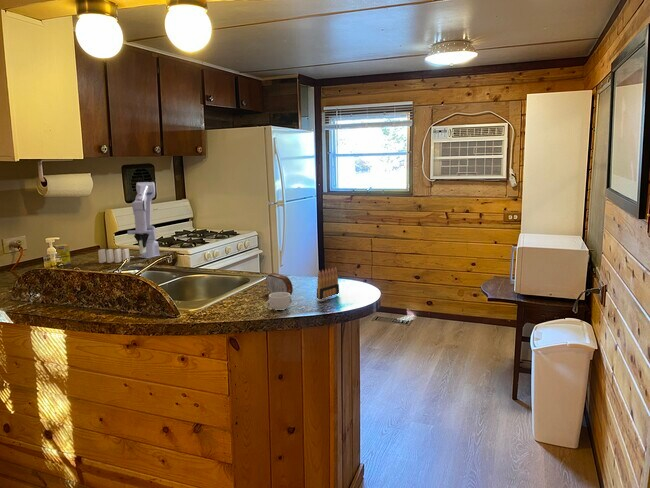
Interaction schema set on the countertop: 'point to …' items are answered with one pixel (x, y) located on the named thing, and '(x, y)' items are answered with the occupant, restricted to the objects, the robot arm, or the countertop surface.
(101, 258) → the domino
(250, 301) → the countertop surface
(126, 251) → the domino
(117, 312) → the countertop surface
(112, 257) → the domino
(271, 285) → the grey brown rounded slab
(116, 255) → the domino
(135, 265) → the countertop surface
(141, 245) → the domino
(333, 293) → the ammunition clip
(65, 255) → the supplement box
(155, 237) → the robot arm
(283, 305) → the teacup
